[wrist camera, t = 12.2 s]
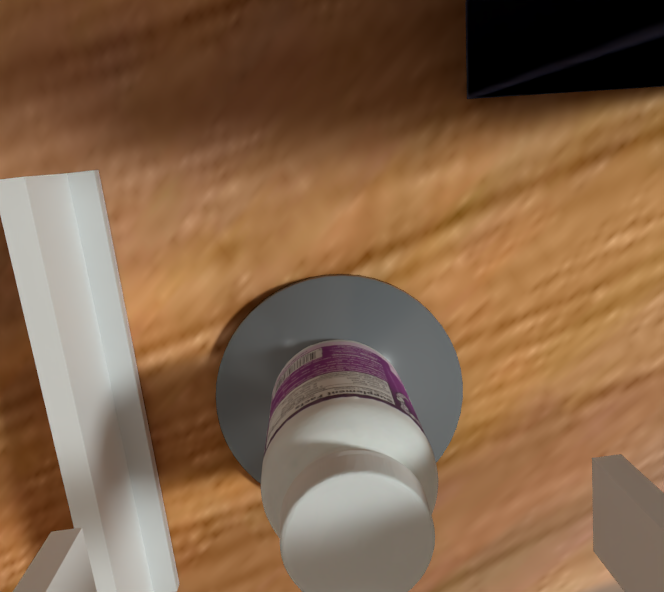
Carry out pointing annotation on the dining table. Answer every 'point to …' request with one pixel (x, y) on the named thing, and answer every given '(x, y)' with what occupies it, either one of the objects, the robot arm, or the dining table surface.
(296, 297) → the coaster
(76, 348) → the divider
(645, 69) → the vase
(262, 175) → the dining table surface
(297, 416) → the pill bottle
